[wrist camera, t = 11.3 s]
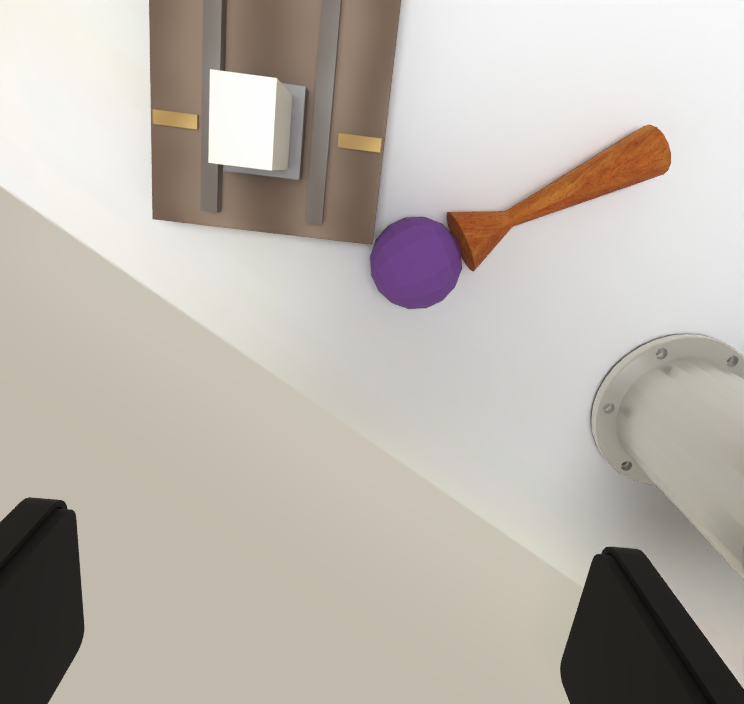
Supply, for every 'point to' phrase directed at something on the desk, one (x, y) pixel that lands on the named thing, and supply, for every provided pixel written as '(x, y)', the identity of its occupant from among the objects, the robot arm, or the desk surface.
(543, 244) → the desk surface
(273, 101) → the fader tab
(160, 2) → the brown slider board
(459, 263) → the kendama
